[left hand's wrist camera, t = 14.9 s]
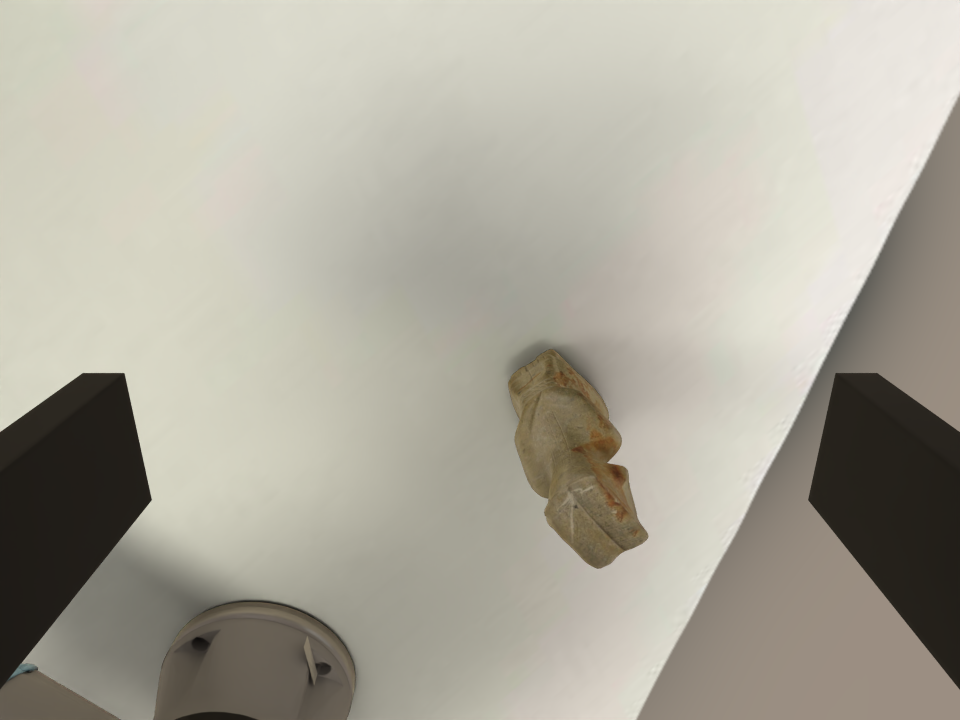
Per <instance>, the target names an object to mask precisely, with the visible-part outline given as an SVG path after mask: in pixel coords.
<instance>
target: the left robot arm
mask: <svg viewBox="0 0 960 720" xmlns="http://www.w3.org/2000/svg"><path fill="white" fill-rule="evenodd" d="M151 500H152V499H151V494H150V490H149V485H148V480H147V476H146V471H145V466H144V462H143V457H142V453H141V448H140V443H139V439H138V434H137V429H136V425H135V420H134V416H133V411H132V406H131V402H130V397H129V392H128V388H127V383H126V378H125V374H124V373H82V374H81V375H80V376H78V377H77V378H75V379H74V380H73V381H71V382H70V383H68V384H67V385H66V386H64V387H63V388H61V389H60V390H59V391H57V392H56V393H54V394H53V395H52V396H50V397H49V398H47V399H46V400H45V401H43V402H42V403H40V404H39V405H38V406H36V407H35V408H33V409H32V410H31V411H29V412H28V413H26V414H25V415H24V416H22V417H21V418H19V419H18V420H17V421H15V422H14V423H12V424H11V425H10V426H8V427H7V428H5V429H4V430H3V431H1V432H0V720H120V719H119V718H117V717H115V716H114V715H112V714H110V713H108V712H107V711H105V710H103V709H102V708H100V707H98V706H97V705H95V704H93V703H91V702H90V701H88V700H86V699H85V698H83V697H81V696H80V695H78V694H76V693H75V692H73V691H71V690H69V689H68V688H66V687H64V686H63V685H61V684H59V683H58V682H56V681H54V680H52V679H51V678H49V677H47V676H46V675H44V674H42V673H41V672H39V671H38V667H37V666H35V665H33V664H22V662H23V660H24V659H25V658H26V657H27V655H28V654H29V653H30V652H31V650H32V649H33V648H34V647H35V645H36V644H37V643H38V642H39V640H40V639H41V638H42V637H43V635H44V634H45V633H46V632H47V630H48V629H49V628H50V627H51V625H52V624H53V623H54V622H55V620H56V619H57V618H58V617H59V615H60V614H61V613H62V612H63V610H64V609H65V608H66V607H67V605H68V604H69V603H70V602H71V600H72V599H73V598H74V597H75V595H76V594H77V593H78V592H79V590H80V589H81V588H82V587H83V585H84V584H85V583H86V582H87V580H88V579H89V578H90V577H91V575H92V574H93V573H94V572H95V570H96V569H97V568H98V567H99V565H100V564H101V563H102V562H103V560H104V559H105V558H106V557H107V555H108V554H109V553H110V552H111V550H112V549H113V548H114V547H115V545H116V544H117V543H118V542H119V540H120V539H121V538H122V537H123V535H124V534H125V533H126V532H127V530H128V529H129V528H130V527H131V525H132V524H133V523H134V522H135V520H136V519H137V518H138V517H139V515H140V514H141V513H142V512H143V510H144V509H145V508H146V507H147V505H148V504H149V503H150V502H151ZM808 500H809V502H810V503H811V504H812V505H813V507H814V508H815V509H816V510H817V512H818V513H819V514H820V515H821V517H822V518H823V519H824V520H825V522H826V523H827V524H828V525H829V527H830V528H831V529H832V530H833V532H834V533H835V534H836V535H837V537H838V538H839V539H840V540H841V542H842V543H843V544H844V545H845V547H846V548H847V549H848V550H849V552H850V553H851V554H852V555H853V557H854V558H855V559H856V560H857V562H858V563H859V564H860V565H861V567H862V568H863V569H864V570H865V572H866V573H867V574H868V575H869V577H870V578H871V579H872V580H873V582H874V583H875V584H876V585H877V587H878V588H879V589H880V590H881V592H882V593H883V594H884V595H885V597H886V598H887V599H888V600H889V602H890V603H891V604H892V605H893V607H894V608H895V609H896V610H897V612H898V613H899V614H900V615H901V617H902V618H903V619H904V620H905V622H906V623H907V624H908V625H909V627H910V628H911V629H912V630H913V632H914V633H915V634H916V635H917V637H918V638H919V639H920V640H921V642H922V643H923V644H924V645H925V647H926V648H927V649H928V650H929V652H930V653H931V654H932V655H933V657H934V658H935V659H936V660H937V662H938V663H939V664H940V665H941V667H942V668H943V669H944V670H945V672H946V673H947V674H948V675H949V677H950V678H951V679H952V680H953V682H954V683H955V684H956V685H957V687H958V688H959V689H960V432H959V431H957V430H956V429H955V428H953V427H952V426H950V425H949V424H948V423H946V422H945V421H943V420H942V419H941V418H939V417H938V416H936V415H935V414H934V413H932V412H931V411H929V410H928V409H927V408H925V407H924V406H922V405H921V404H920V403H918V402H917V401H915V400H914V399H913V398H911V397H910V396H908V395H907V394H906V393H904V392H903V391H901V390H900V389H898V388H897V387H896V386H894V385H893V384H892V383H890V382H889V381H887V380H886V379H885V378H883V377H882V376H880V375H879V374H878V373H836V374H835V378H834V383H833V388H832V392H831V397H830V402H829V406H828V411H827V416H826V420H825V425H824V429H823V434H822V439H821V443H820V448H819V453H818V457H817V462H816V467H815V471H814V476H813V480H812V485H811V490H810V495H809V499H808ZM354 689H355V671H354V666H353V663H352V660H351V657H350V655H349V653H348V651H347V650H346V648H345V646H344V645H343V644H342V642H341V641H340V640H339V639H338V637H337V636H336V635H335V634H334V633H333V632H332V631H330V630H329V629H328V628H327V627H326V626H324V625H323V624H322V623H320V622H319V621H317V620H315V619H314V618H312V617H310V616H308V615H306V614H304V613H302V612H300V611H297V610H295V609H292V608H289V607H285V606H281V605H277V604H272V603H264V602H238V603H231V604H226V605H222V606H218V607H215V608H212V609H210V610H208V611H205V612H203V613H202V614H200V615H198V616H196V617H195V618H194V619H192V620H191V621H190V622H189V623H187V624H186V625H185V626H184V627H183V629H182V630H181V631H180V632H179V634H178V635H177V637H176V638H175V640H174V642H173V644H172V646H171V647H170V649H169V651H168V653H167V655H166V657H165V659H164V661H163V664H162V668H161V673H160V678H159V686H158V693H157V700H156V707H155V714H154V720H346V719H347V717H348V714H349V712H350V708H351V703H352V698H353V694H354Z"/></svg>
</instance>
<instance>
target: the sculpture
mask: <svg viewBox="0 0 960 720" xmlns="http://www.w3.org/2000/svg"><path fill="white" fill-rule="evenodd" d="M508 387H509V392H510V396H511V399H512V403H513V406H514V408H515V411H516V413H517V415H518V417H519V419H520V421H519V424H518V427H517V430H516V433H515V444H516V448H517V451H518V454H519V457H520V459H521V462H522V465H523V468H524V471H525V474H526V477H527V479H528V482H529V484H530V485H531V487H532V488H533V490H534V491H535V492H536V493H537V494H539V495H540V496H542V497H544V498H549V499H548V504H547V506H546V508H545V511H544V514H545V516H546V519H547V522H548V524H549V526H551V527H552V528H553V529H554V530H555V531H556V532H557V533H558V535H559V536H560V537H561V538H562V539H563V540H564V541H565V542H566V543H567V544H568V545H569V546H570V547H571V548H572V549H573V550H574V551H575V552H576V553H577V554H578V555H579V556H580V557H581V558H582V559H583V560H584V561H585V562H586V563H588V564H589V565H591V566H593V567H595V568H597V569H600V568H602V567H605V566H607V565H609V564H611V563H612V562H613V561H614V559H615V558H616V557H617V556H618V555H619V554H621V553H622V552H624V551H627V550H629V549H632V548H634V547H636V546H638V545H640V544H642V543H644V542H645V541H646V540H647V539H648V533H647V532H646V530H645V529H644V528H643V526H642V525H641V524H640V522H639V520H638V518H637V513H636V509H635V505H634V501H633V497H632V494H631V490H630V485H629V475H628V470H627V469H626V468H625V467H623V466H620V465H614V464H608V463H607V462H608V461H609V460H610V459H611V458H612V457H613V456H614V455H615V454H616V453H617V451H618V450H619V448H620V446H621V443H622V438H621V435H620V433H619V432H618V431H617V429H616V428H615V427H614V426H613V425H612V424H611V422H610V421H609V414H608V409H607V407H606V405H605V403H604V401H603V400H602V398H601V396H600V395H599V394H598V393H597V391H596V390H595V389H594V388H593V387H592V386H591V385H590V384H589V383H588V382H587V381H586V380H585V379H584V378H583V377H582V376H580V375H579V374H578V373H577V372H576V371H575V370H574V369H573V368H572V367H571V366H570V365H569V364H568V363H567V362H566V361H565V360H564V359H563V358H562V357H561V356H560V355H559V354H558V353H557V352H556V351H554V350H553V349H550V350H547V351H546V352H544V353H542V354H540V355H539V356H538V357H537V358H536V360H534V361H533V362H531V363H530V364H528V365H527V366H525V367H521V368H520V369H519V370H518V371H517V372H515V373H514V374H513V375H512V376H511V379H510V380H509V382H508Z"/></svg>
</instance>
